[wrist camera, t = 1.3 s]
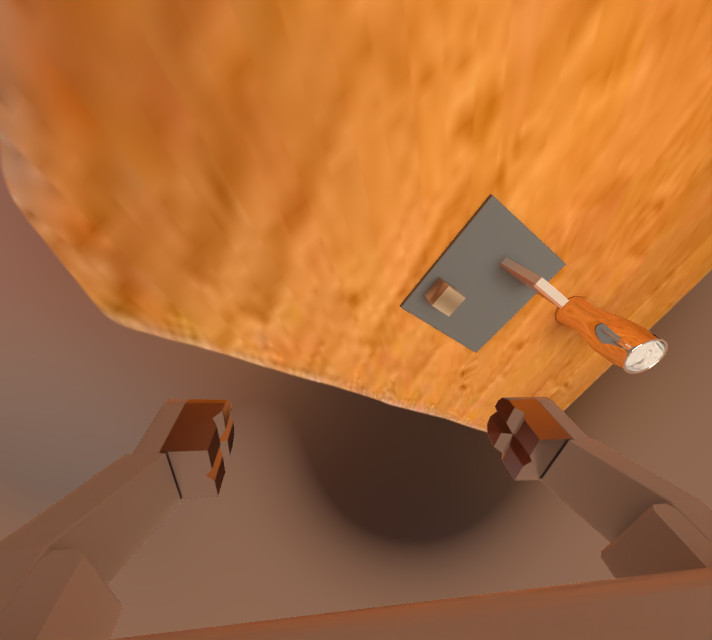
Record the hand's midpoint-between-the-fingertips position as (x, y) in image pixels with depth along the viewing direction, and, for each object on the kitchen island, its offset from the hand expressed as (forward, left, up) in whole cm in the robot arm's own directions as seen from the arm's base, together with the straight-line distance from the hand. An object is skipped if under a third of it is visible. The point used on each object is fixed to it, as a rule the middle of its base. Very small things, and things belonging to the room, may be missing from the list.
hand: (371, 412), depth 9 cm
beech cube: (+1, +23, -38) cm, 44 cm away
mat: (-4, +29, -38) cm, 48 cm away
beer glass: (-10, +49, -39) cm, 63 cm away
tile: (-9, +32, -38) cm, 51 cm away
